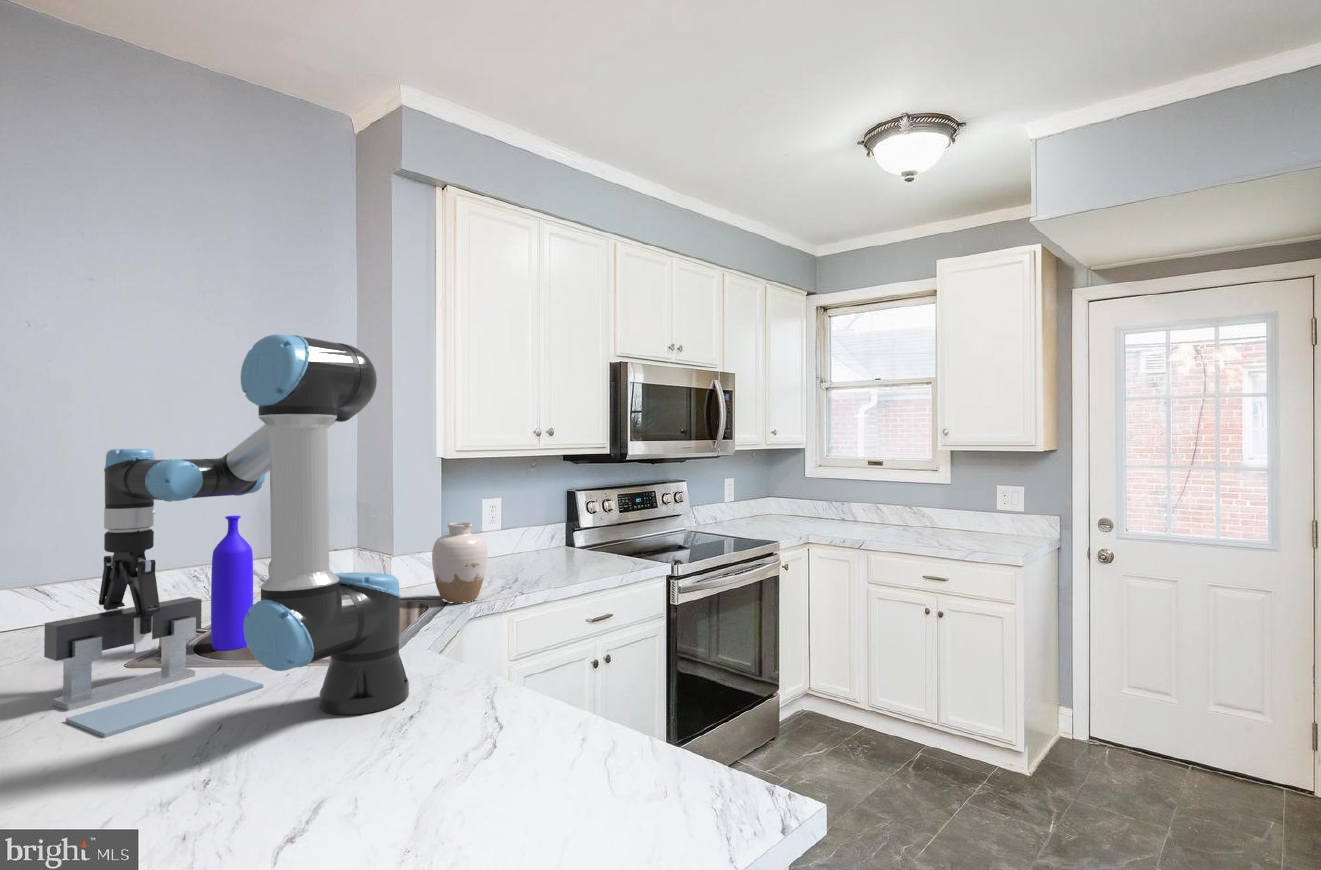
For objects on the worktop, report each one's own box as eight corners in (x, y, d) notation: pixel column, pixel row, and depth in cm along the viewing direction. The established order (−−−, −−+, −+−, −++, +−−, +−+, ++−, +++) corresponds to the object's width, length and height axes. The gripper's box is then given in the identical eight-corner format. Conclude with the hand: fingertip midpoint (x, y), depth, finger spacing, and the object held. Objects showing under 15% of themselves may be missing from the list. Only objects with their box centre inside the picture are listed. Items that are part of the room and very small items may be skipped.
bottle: (233, 652, 157) (234, 518, 157) (201, 650, 158) (202, 517, 158) (261, 642, 165) (262, 514, 165) (230, 640, 166) (232, 513, 167)
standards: (197, 676, 141) (198, 616, 141) (71, 711, 122) (71, 642, 122) (175, 670, 144) (176, 611, 145) (49, 703, 126) (50, 636, 126)
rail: (188, 625, 145) (189, 596, 145) (201, 628, 143) (201, 599, 143) (44, 656, 124) (44, 623, 124) (56, 660, 122) (56, 626, 122)
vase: (457, 609, 198) (458, 528, 198) (420, 602, 206) (420, 524, 206) (498, 598, 211) (498, 522, 211) (461, 592, 220) (461, 519, 220)
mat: (263, 687, 135) (263, 684, 135) (104, 737, 112) (104, 733, 112) (223, 676, 141) (223, 673, 141) (65, 721, 118) (65, 718, 118)
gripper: (183, 530, 132) (182, 649, 131) (121, 523, 142) (120, 634, 142) (138, 535, 125) (136, 660, 125) (77, 527, 136) (76, 643, 135)
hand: (128, 646), depth 133 cm, fingers open, 10 cm apart
